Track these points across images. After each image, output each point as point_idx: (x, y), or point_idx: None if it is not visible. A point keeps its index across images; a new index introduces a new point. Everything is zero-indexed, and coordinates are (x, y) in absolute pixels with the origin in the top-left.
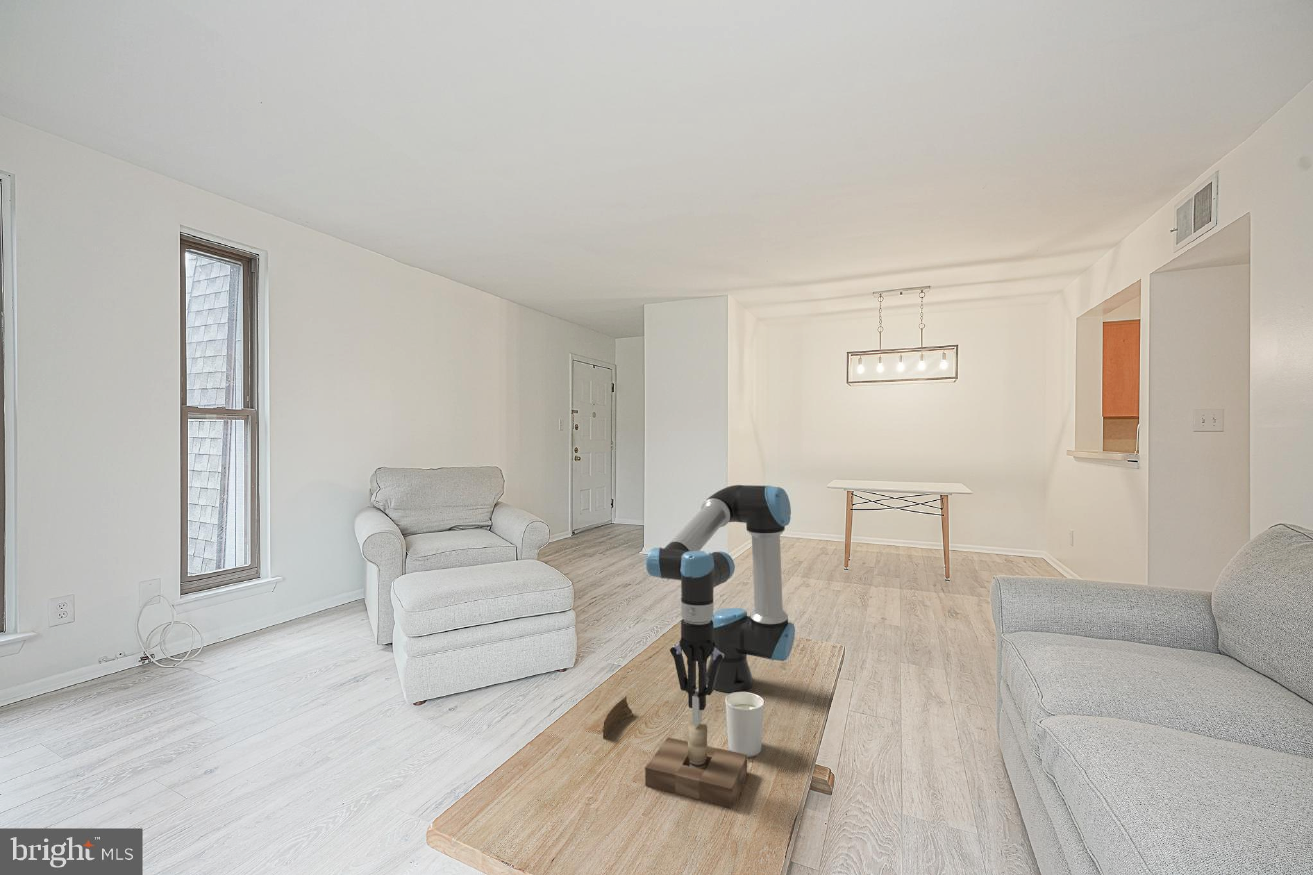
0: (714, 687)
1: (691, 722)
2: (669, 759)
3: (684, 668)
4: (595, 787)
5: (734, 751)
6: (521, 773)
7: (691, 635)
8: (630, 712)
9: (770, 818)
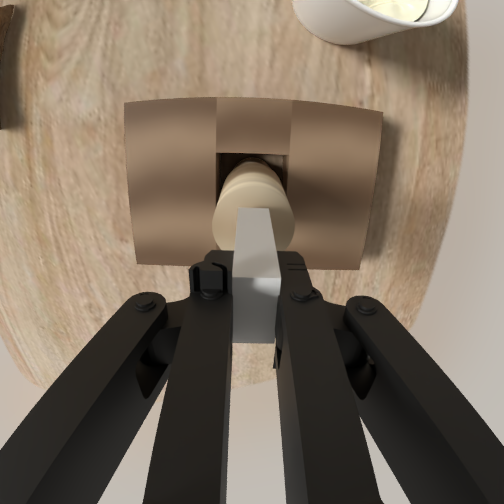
0: (391, 316)
1: (219, 207)
2: (174, 210)
3: (96, 425)
4: (77, 281)
5: (320, 37)
6: None
7: None
8: (10, 11)
9: (414, 253)
